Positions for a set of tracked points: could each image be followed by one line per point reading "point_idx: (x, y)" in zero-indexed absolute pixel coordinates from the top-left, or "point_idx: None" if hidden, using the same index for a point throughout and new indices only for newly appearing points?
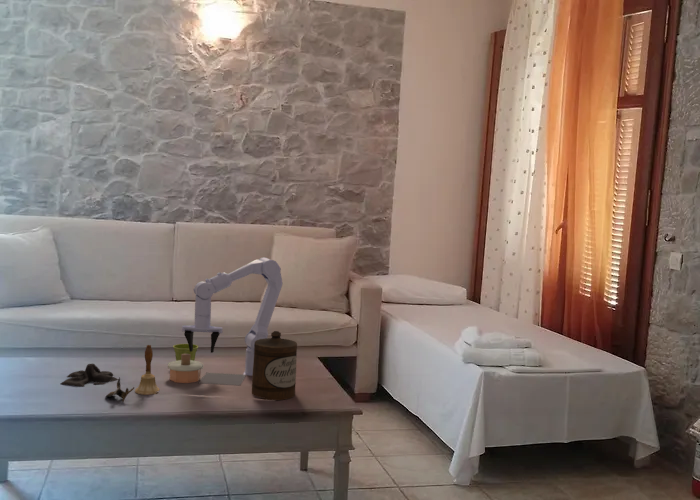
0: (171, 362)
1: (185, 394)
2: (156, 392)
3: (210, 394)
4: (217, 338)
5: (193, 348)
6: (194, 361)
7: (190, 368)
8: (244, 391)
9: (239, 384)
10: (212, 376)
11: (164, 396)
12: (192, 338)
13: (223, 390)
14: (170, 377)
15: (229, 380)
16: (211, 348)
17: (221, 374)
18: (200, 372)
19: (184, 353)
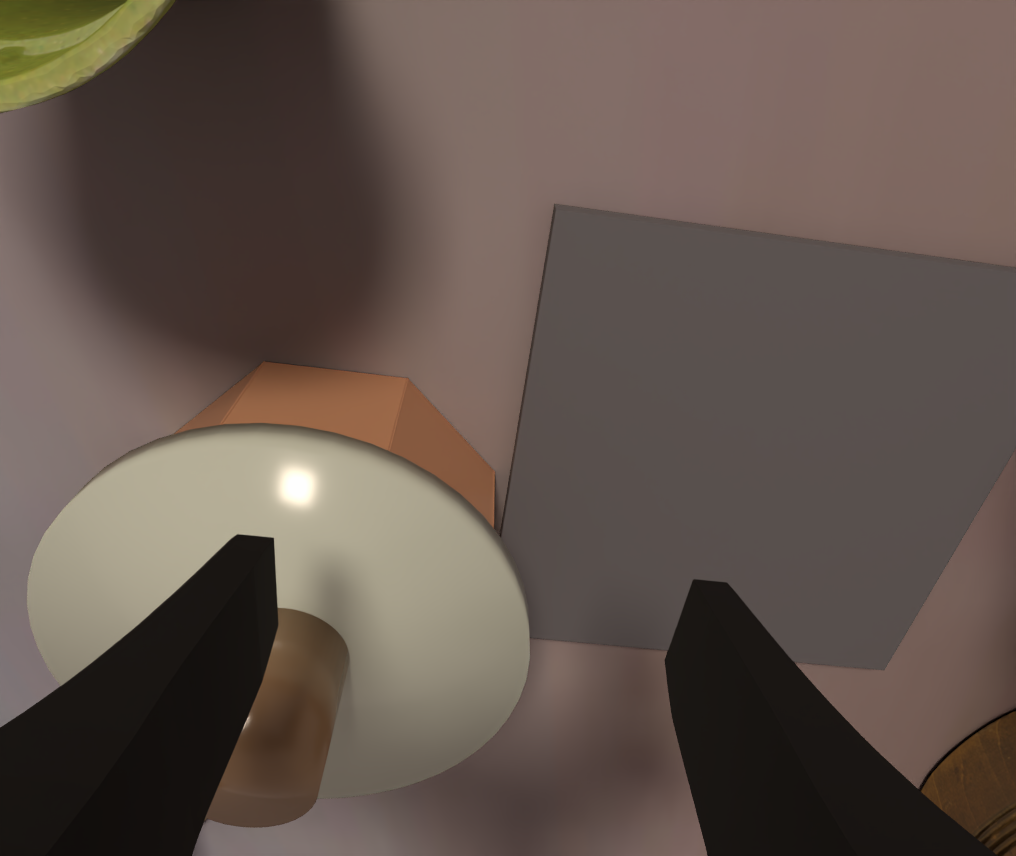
0: (54, 594)
1: (421, 815)
2: (204, 820)
3: (604, 807)
4: (977, 845)
5: (166, 4)
6: (378, 515)
7: (392, 787)
8: (880, 744)
9: (885, 648)
10: (637, 403)
11: (286, 850)
12: (136, 803)
13: None
14: None
15: (815, 538)
16: (695, 754)
17: (764, 299)
18: (493, 526)
19: (10, 50)
